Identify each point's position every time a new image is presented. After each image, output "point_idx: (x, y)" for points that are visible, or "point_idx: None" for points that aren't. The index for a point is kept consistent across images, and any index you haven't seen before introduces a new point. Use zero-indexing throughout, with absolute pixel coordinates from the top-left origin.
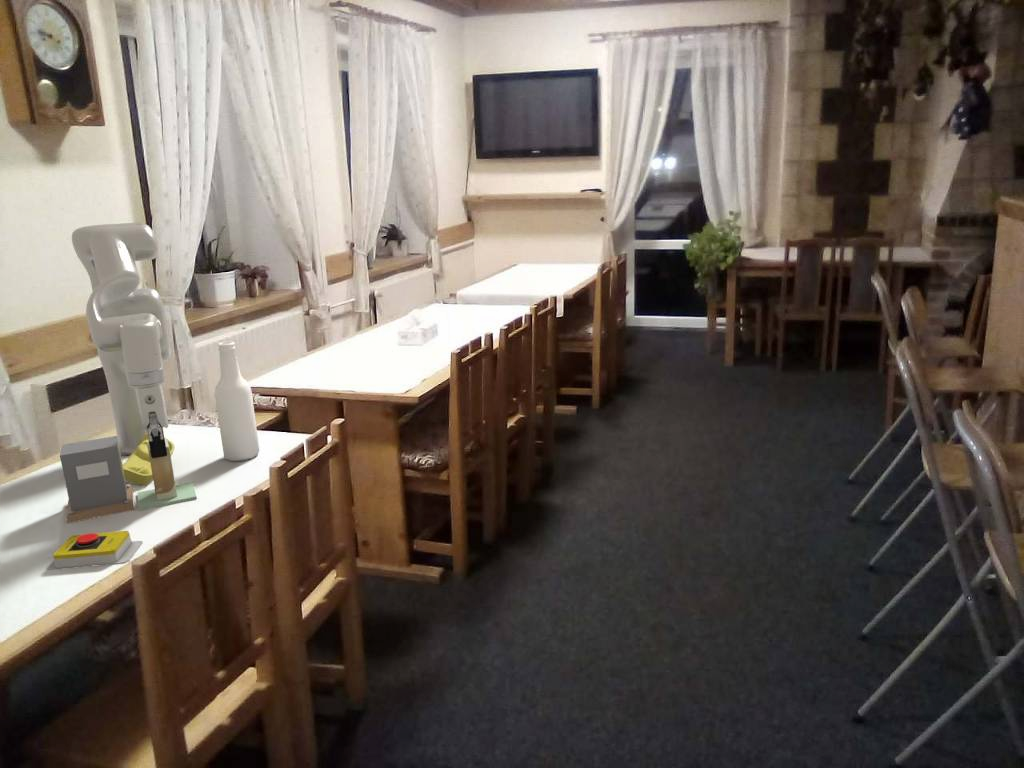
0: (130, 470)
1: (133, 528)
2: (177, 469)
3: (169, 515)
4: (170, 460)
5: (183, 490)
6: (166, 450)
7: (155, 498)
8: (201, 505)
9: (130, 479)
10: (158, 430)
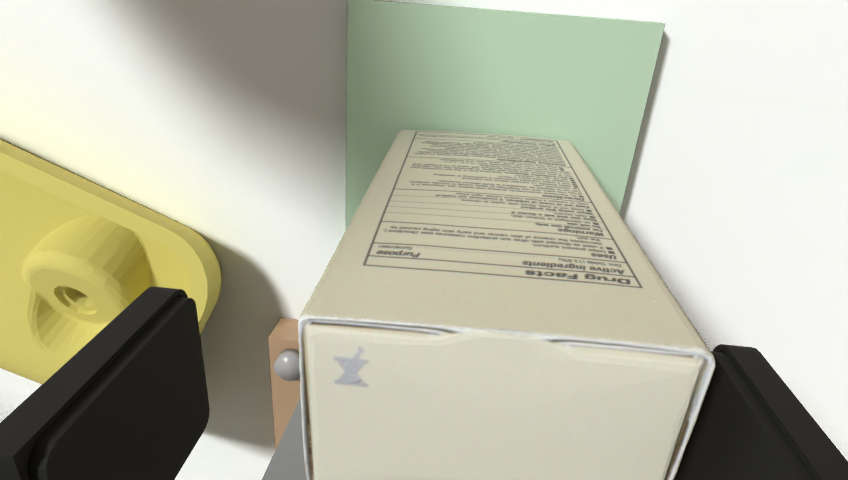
0: None
1: (816, 385)
2: (9, 51)
3: (801, 217)
4: (650, 262)
5: (480, 86)
6: (785, 388)
7: None
8: (811, 12)
9: None
10: (95, 456)
